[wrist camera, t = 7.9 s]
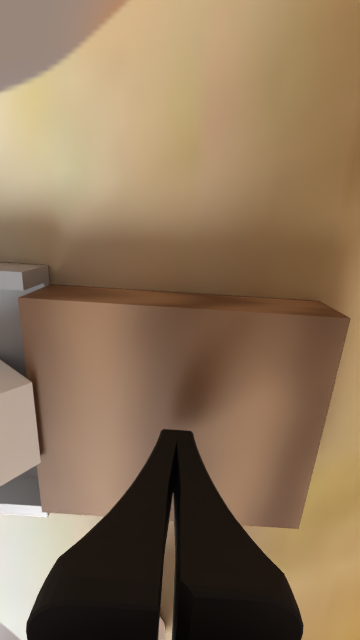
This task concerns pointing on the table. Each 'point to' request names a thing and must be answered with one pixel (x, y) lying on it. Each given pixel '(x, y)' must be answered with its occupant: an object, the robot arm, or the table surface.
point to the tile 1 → (16, 425)
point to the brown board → (179, 392)
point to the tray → (7, 345)
